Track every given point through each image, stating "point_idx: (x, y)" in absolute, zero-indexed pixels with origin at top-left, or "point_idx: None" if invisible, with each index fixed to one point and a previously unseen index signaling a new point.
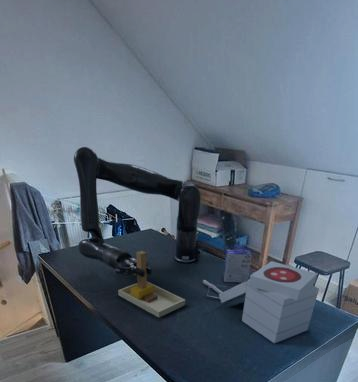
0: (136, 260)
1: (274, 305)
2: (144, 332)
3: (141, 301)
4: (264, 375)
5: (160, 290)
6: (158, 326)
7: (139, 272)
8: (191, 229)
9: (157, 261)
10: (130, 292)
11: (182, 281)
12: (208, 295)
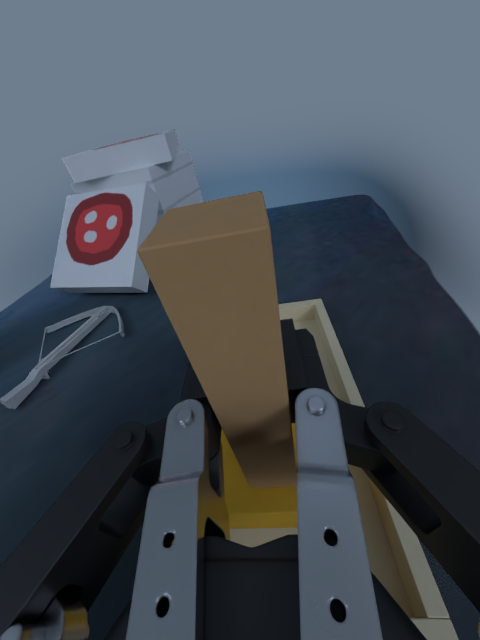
0: (152, 578)
1: (188, 172)
2: (392, 295)
3: (343, 373)
4: (275, 208)
5: None
6: (340, 299)
7: (313, 339)
8: None
9: None
10: None
11: (2, 493)
12: (119, 330)
